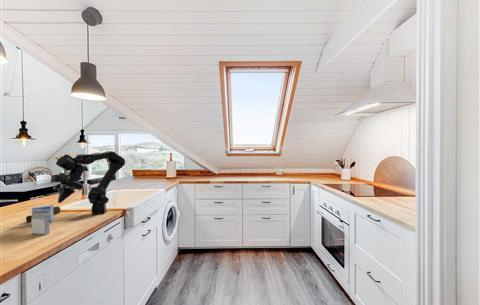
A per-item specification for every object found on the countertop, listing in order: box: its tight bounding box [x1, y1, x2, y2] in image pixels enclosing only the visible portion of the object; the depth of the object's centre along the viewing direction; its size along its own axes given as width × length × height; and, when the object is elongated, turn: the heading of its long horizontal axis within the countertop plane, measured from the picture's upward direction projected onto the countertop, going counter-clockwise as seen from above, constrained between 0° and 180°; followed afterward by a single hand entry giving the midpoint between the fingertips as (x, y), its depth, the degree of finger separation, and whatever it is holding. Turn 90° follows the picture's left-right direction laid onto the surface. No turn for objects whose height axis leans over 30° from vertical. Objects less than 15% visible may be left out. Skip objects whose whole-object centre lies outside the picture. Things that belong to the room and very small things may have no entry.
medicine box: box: [31, 204, 55, 224], centre depth 117 cm, size 8×4×9 cm, turn 117°
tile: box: [30, 217, 50, 236], centre depth 101 cm, size 2×8×8 cm, turn 79°
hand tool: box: [25, 205, 62, 224], centre depth 127 cm, size 19×4×5 cm, turn 173°
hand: (59, 202), depth 110 cm, fingers closed
